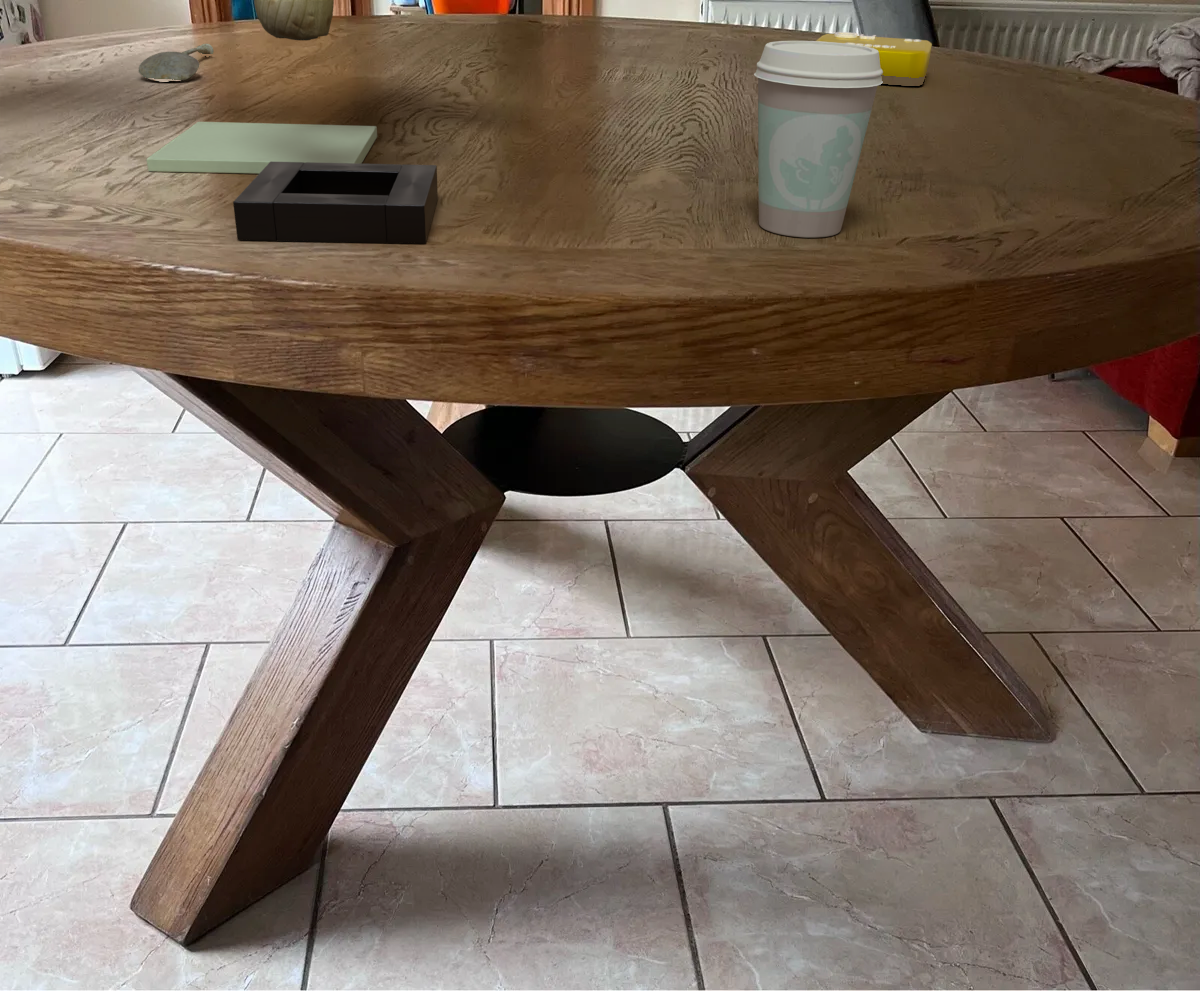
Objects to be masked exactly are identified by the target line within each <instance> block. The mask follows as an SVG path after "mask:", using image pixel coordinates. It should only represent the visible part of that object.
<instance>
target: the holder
mask: <svg viewBox="0 0 1200 991" xmlns="http://www.w3.org/2000/svg"><path fill="white" fill-rule="evenodd" d="M438 194H439V193H438V165H436V164H399V163H398V164H397V163H396V164H395V163H362V164H358V163H314V162H305V163H304V162H270V163H269V164H268V165H267V166H266V167H265V168H264V169H263V170H262V171H261V172H260V173H259V174H257V175H256V176H255V177H254V179H253V180H252V181H251V182H250V183H249V184H248V185H247V186H246V188H244V190H243V191H242V192H241V193H240V194H238V196H237V197H236V198H235V199H234V200H233V202H232V205H233V214H234V220H235V221H234V222H235V229H236V239H237V241H249V242H250V241H253V242H254V241H255V242H301V243H302V242H304V243H350V244H351V243H352V244H353V243H359V244H360V243H361V244H363V243H364V244H412V245H413V244H415V245H417V244H419V245H425V244H427V240H428V236H429V233H430V229H431V227H432V222H433V218H434V215H435V210H436V206H437V203H438V199H439V197H438V196H439V195H438Z"/></svg>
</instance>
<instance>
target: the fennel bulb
mask: <svg viewBox="0 0 1200 991" xmlns="http://www.w3.org/2000/svg"><path fill="white" fill-rule="evenodd" d="M334 3H335V0H253V4H254V10H255V14H256V16H257V18H258V19H257V20H258V21H259V23H260V24H261V26H262V29H263V30H264V32H266V33H268V34H269V35H270V36H272V37H274V38H276V39H286V40H292V41H312V40H317V39H318V38H319V37H327V36H328V35H329V33H330V28H331V23H332V19H333V16H334V7H335V6H334V5H335V4H334Z"/></svg>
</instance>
